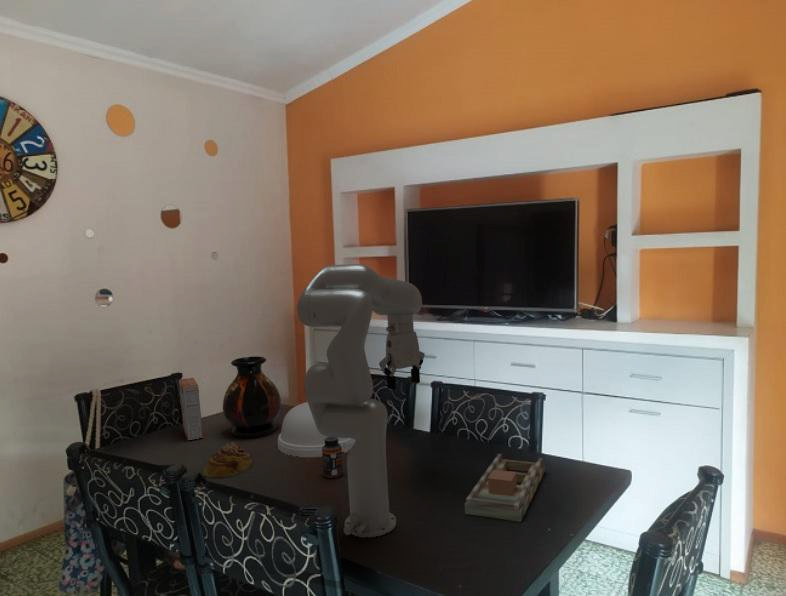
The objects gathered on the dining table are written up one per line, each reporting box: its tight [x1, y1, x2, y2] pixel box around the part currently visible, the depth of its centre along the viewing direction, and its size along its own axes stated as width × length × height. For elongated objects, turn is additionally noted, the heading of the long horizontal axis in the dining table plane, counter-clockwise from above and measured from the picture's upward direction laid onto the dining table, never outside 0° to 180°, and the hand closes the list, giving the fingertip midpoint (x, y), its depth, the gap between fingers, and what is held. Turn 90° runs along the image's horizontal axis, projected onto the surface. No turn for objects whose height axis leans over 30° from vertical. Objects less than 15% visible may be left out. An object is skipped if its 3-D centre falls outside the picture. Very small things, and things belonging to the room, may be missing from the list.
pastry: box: [202, 441, 253, 477], centre depth 186 cm, size 13×15×8 cm
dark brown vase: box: [222, 355, 282, 439], centre depth 222 cm, size 22×22×28 cm
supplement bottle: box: [321, 437, 344, 479], centre depth 176 cm, size 6×6×11 cm
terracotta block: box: [488, 470, 518, 496], centre depth 154 cm, size 6×6×4 cm
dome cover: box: [277, 401, 356, 458], centre depth 207 cm, size 32×30×14 cm
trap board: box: [464, 453, 546, 523], centre depth 159 cm, size 32×14×4 cm, turn 156°
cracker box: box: [178, 377, 204, 441], centre depth 222 cm, size 14×6×21 cm, turn 25°
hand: (404, 385), depth 174 cm, fingers open, 9 cm apart
